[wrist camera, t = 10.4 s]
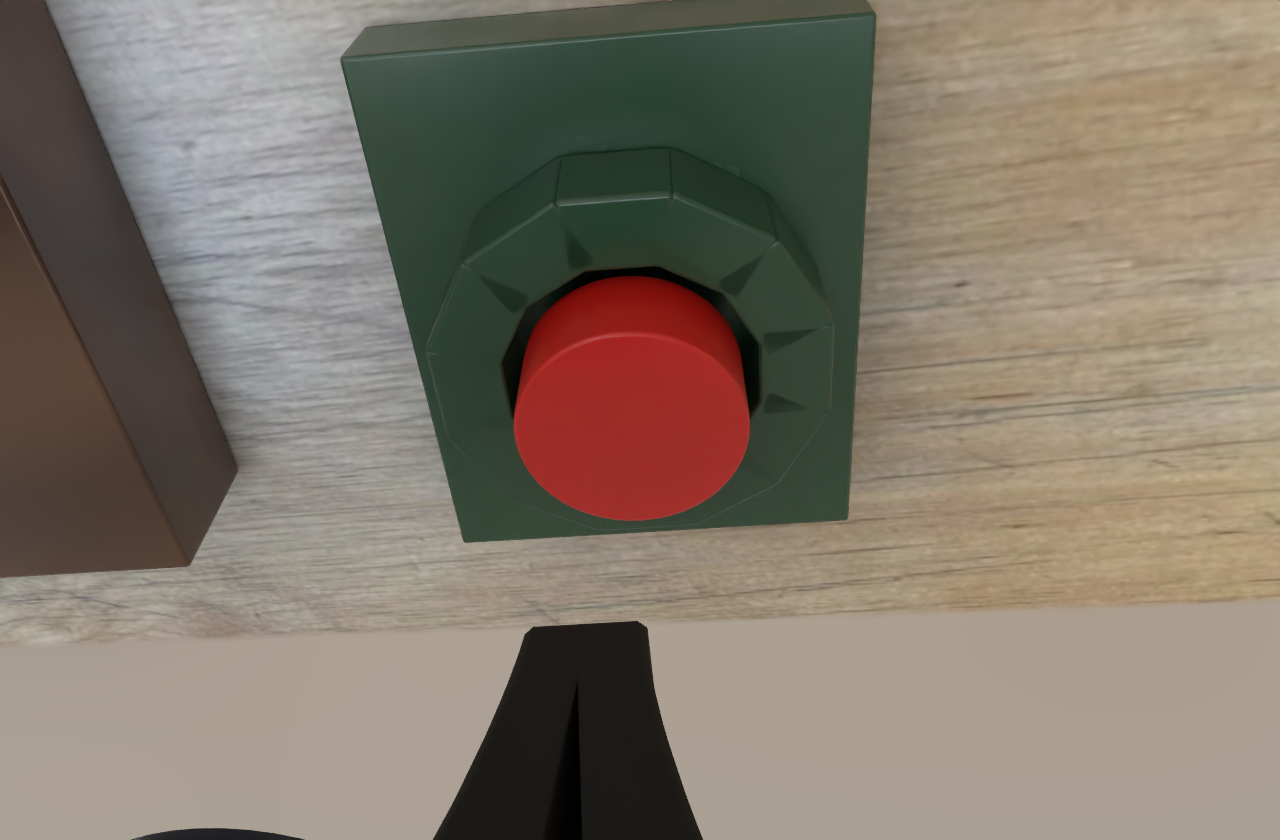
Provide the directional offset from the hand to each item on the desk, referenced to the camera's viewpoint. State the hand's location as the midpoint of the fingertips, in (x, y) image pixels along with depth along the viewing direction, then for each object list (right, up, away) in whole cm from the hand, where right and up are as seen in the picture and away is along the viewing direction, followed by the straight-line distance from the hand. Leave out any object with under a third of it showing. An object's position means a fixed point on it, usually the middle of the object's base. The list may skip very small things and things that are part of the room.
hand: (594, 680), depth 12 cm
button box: (0, +6, +7) cm, 9 cm away
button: (0, +4, +5) cm, 6 cm away
